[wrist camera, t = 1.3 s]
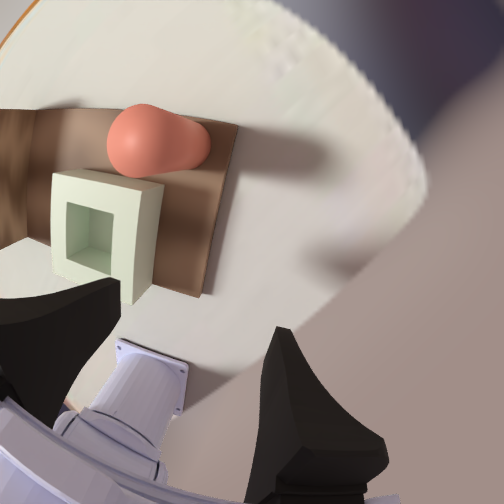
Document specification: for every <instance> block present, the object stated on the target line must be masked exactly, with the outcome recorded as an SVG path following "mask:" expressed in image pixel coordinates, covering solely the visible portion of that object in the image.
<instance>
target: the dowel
mask: <svg viewBox="0 0 504 504" xmlns="http://www.w3.org/2000/svg"><path fill="white" fill-rule="evenodd" d="M210 150H211V138H210V135H209V133H208V131H207V130H206V128H205V127H204V126H202V125H201V124H199V123H197V122H194V121H192V120H189V119H187V118H184V117H182V116H179V115H176V114H174V113H171V112H168V111H166V110H163V109H160V108H158V107H155V106H152V105H148V104H138V105H134V106H131V107H129V108H127V109H125V110H124V111H123V112H121V113H120V114H119V115H118V116H117V118H116V119H115V120H114V122H113V123H112V125H111V127H110V130H109V133H108V137H107V153H108V157H109V160H110V162H111V164H112V165H113V167H114V168H115V169H116V170H117V171H118V172H119V173H121V174H122V175H124V176H127V177H131V178H140V177H145V176H151V175H157V174H163V173H169V172H175V171H182V170H189V169H194V168H196V167H198V166H200V165H201V164H202V163H203V162H204V161H205V160H206V159H207V157H208V155H209V153H210Z"/></svg>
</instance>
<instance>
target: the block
mask: <svg viewBox="0 0 504 504" xmlns="http://www.w3.org/2000/svg"><path fill="white" fill-rule="evenodd" d="M164 187H165V185H164V184H159V183H154V182H150V181H145V180H140V179H135V178H130V177H125V176H120V175H114V174H109V173H104V172H98V171H93V170H87V169H75V170H68V171H62V172H56V173H53V176H52V190H51V254H52V268H53V273H55V274H57V275H59V276H61V277H63V278H65V279H68V280H70V281H72V282H74V283H77V284H79V285H83V284H86V283H89V282H93V281H96V280H99V279H103V278H107V277H112V278H115V279H117V280H120V281H121V302H123V303H126V304H129V305H131V306H132V305H133V304H134V303H135V302H136V301H137V300H138V299H139V298H140V297H141V296H142V295H143V293H144V292H145V291H146V290H147V289H148V288H149V287H150V286H151V285H152V278H153V267H154V257H155V248H156V240H157V232H158V225H159V218H160V211H161V205H162V198H163V193H164Z"/></svg>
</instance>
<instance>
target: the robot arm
mask: <svg viewBox="0 0 504 504" xmlns="http://www.w3.org/2000/svg"><path fill="white" fill-rule="evenodd" d="M120 317H121V281H120V280H117V279H115V278H112V277H107V278H103V279H99V280H96V281H93V282H89V283H86V284H83V285H80V286H77V287H74V288H70V289H67V290H63V291H59V292H56V293H52V294H47V295H42V296H36V297H27V298H15V299H2V298H0V504H401V503H400V499H399V494H393V495H387V496H380V497H374V498H370V499H367V500H364V495H363V494H364V493H366V492H367V483H368V482H369V481H370V480H372V479H373V478H375V477H376V476H377V475H379V474H380V473H381V472H382V471H383V470H385V468H386V467H387V465H388V463H389V457H388V452H387V448H386V445H385V442H384V439H383V438H382V437H380V436H379V435H377V434H376V433H374V432H372V431H371V430H369V429H368V428H366V427H365V426H364V425H362V424H361V423H360V422H358V421H357V420H356V419H355V418H354V417H352V416H351V415H350V414H349V413H348V412H347V411H346V410H344V409H343V408H342V407H341V406H340V405H339V404H338V403H337V402H336V401H335V399H334V398H333V397H332V396H331V395H330V394H329V393H328V391H327V390H326V389H325V388H324V386H323V385H322V384H321V383H320V381H319V380H318V378H317V377H316V376H315V374H314V373H313V371H312V369H311V368H310V366H309V364H308V363H307V361H306V359H305V357H304V356H303V354H302V352H301V350H300V348H299V346H298V344H297V342H296V340H295V338H294V335H293V333H292V331H291V330H290V329H287V328H282V327H278V326H276V329H275V332H274V334H273V337H272V340H271V343H270V345H269V348H268V351H267V353H266V356H265V359H264V363H263V369H262V375H261V386H260V387H261V388H260V414H259V429H258V436H257V442H256V448H255V454H254V458H253V464H252V469H251V473H250V478H249V483H248V487H247V491H246V496H245V500H244V503H240V502H234V501H228V500H223V499H218V498H213V497H209V496H204V495H200V494H196V493H192V492H188V491H185V490H181V489H178V488H175V487H171V486H168V485H167V480H168V471H167V469H166V466H165V464H164V463H163V462H161V461H159V458H160V455H161V451H160V450H159V448H160V446H161V443H162V441H163V438H164V436H165V433H166V431H167V428H168V426H169V423H170V421H171V418H172V416H173V414H174V415H177V416H181V415H182V413H183V406H184V399H185V391H186V384H187V377H188V370H189V366H188V364H186V363H185V362H181V361H178V360H175V359H172V358H169V357H167V356H164V355H161V354H158V353H155V352H152V351H150V350H147V349H144V348H142V347H139V346H137V345H134V344H131V343H129V342H127V341H124V340H122V339H117V340H116V341H115V346H116V357H117V366H116V368H115V369H114V371H113V372H112V374H111V375H110V376H109V378H108V379H107V381H106V382H105V384H104V385H103V387H102V388H101V390H100V391H99V392H98V394H97V395H96V397H95V398H94V400H93V401H92V403H91V404H90V406H89V407H88V408H87V407H84V408H83V410H82V411H81V413H80V414H79V413H78V412H76V411H75V410H71V411H66V412H64V413H62V414H61V415H60V416H59V417H58V419H57V420H56V418H57V416H58V413H59V411H60V409H61V406H62V404H63V402H64V400H65V398H66V396H67V394H68V392H69V390H70V388H71V386H72V384H73V382H74V381H75V379H76V377H77V376H78V374H79V372H80V371H81V369H82V368H83V366H84V365H85V364H86V362H87V361H88V360H89V359H90V357H91V356H92V355H93V354H94V353H95V351H96V350H97V349H98V348H99V347H100V345H101V344H102V343H103V342H104V341H105V339H106V338H107V337H108V336H109V335H110V333H111V332H112V330H113V329H114V327H115V326H116V324H117V322H118V321H119V319H120ZM183 370H184V371H183Z"/></svg>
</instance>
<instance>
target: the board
mask: <svg viewBox="0 0 504 504" xmlns="http://www.w3.org/2000/svg"><path fill="white" fill-rule="evenodd" d="M123 111H124V110H118V109H47V110H21V109H0V250H1V249H3V248H5V247H7V246H9V245H11V244H13V243H15V242H17V241H20V240H22V239H24V238H26V237H29V238H31V239H34V240H36V241H38V242H41V243H43V244H45V245H48V246H50V247H51V190H52V176H53V173H56V172H62V171H68V170H75V169H87V170H93V171H98V172H104V173H109V174H114V175H120V176H124V175H122V174H121V173H119V172H118V171H117V170H116V169H115V168H114V167H113V165H112V164H111V162H110V160H109V157H108V153H107V137H108V133H109V130H110V127H111V125H112V123H113V122H114V120H115V119H116V118H117V116H118V115H119V114H120V113H121V112H123ZM179 116H181V115H179ZM182 117H184V118H187V119H189V120H192V121H194V122H197V123H199V124H201V125H202V126H204V127H205V128H206V130H207V131H208V133H209V135H210V138H211V150H210V153H209V155H208V157H207V159H206V160H205V161H204V162H203V163H202V164H201V165H200V166H198V167H196V168H194V169H189V170H182V171H175V172H169V173H163V174H157V175H151V176H145V177H140V178H135V179H140V180H145V181H150V182H154V183H159V184H164V185H165V187H164V193H163V198H162V205H161V211H160V218H159V225H158V232H157V240H156V248H155V257H154V267H153V278H152V284H154V285H157V286H160V287H164V288H167V289H170V290H173V291H176V292H180V293H183V294H186V295H189V296H193V297H196V298H199V297H200V296H201V294H202V289H203V283H204V278H205V273H206V268H207V263H208V257H209V252H210V247H211V243H212V238H213V233H214V228H215V223H216V219H217V214H218V210H219V205H220V201H221V196H222V192H223V187H224V183H225V179H226V174H227V170H228V166H229V162H230V158H231V154H232V150H233V146H234V142H235V138H236V134H237V130H238V126H237V125H235V124H230V123H224V122H219V121H213V120H208V119H202V118H195V117H188V116H182ZM125 177H127V176H125ZM130 178H131V177H130Z"/></svg>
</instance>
